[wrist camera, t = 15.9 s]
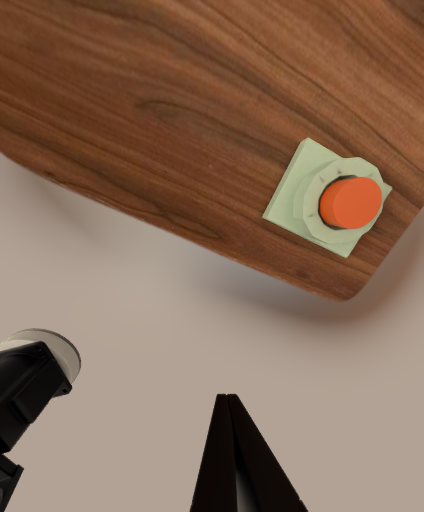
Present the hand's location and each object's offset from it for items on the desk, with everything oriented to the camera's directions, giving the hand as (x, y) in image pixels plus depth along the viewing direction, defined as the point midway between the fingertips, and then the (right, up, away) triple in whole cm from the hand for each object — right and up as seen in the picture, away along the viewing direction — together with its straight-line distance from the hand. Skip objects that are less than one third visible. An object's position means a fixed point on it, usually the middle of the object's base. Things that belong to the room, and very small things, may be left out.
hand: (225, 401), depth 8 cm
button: (+10, +10, +7) cm, 16 cm away
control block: (+10, +11, +10) cm, 18 cm away
